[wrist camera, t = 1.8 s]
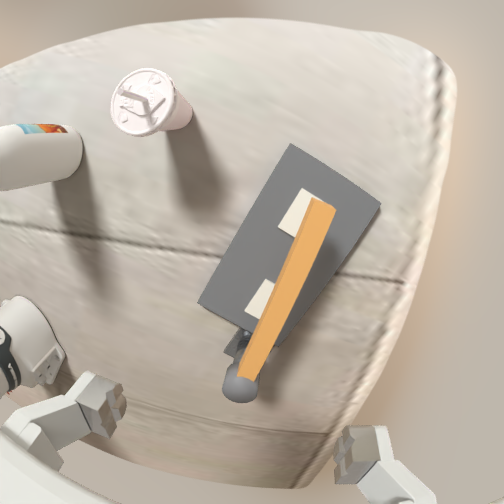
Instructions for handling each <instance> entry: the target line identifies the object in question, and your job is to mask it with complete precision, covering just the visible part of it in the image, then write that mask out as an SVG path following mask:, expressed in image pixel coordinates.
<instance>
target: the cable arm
mask: <svg viewBox="0 0 504 504" xmlns="http://www.w3.org/2000/svg"><path fill="white" fill-rule="evenodd" d="M335 212H336V209H335V208H334V207H333V206H332V205H330V204H327V203H325V202H323V201H320V200H318V199H315V198H313V197H312V198H311V200H310V203H309V205H308V207H307V210H306V212H305V215H304V217H303V220H302V222H301V225H300V227H299V229H298V232H297V234H296V237H295V239H294V241H293V244H292V246H291V248H290V251H289V253H288V256H287V258H286V260H285V263H284V265H283V267H282V270H281V272H280V274H279V276H278V279H277V281H276V283H275V286H274V288H273V290H272V292H271V295H270V297H269V299H268V302H267V304H266V306H265V308H264V311H263V313H262V315H261V317H260V319H259V322H258V324H257V326H256V328H255V330H254V333H253V335H252V337H251V339H250V341H249V344H248V346H247V348H246V350H245V352H244V354H243V357H242V359H241V361H240V362H235V363H233V364H231V365H230V366H229V367H228V369H227V372H226V376H225V380H224V383H223V387H222V392H223V394H224V396H225V397H226V398H228V399H229V400H231V401H233V402H237V403H248V402H251V401H253V400H254V399H255V398H256V396H257V392H258V384H259V376H260V373H259V371H260V369H261V367H262V366H263V364H264V362H265V360H266V358H267V356H268V354H269V352H270V350H271V348H272V347H273V345H274V343H275V341H276V339H277V337H278V335H279V333H280V331H281V329H282V327H283V325H284V323H285V321H286V319H287V317H288V315H289V313H290V311H291V309H292V307H293V305H294V303H295V301H296V298H297V296H298V294H299V292H300V290H301V288H302V286H303V284H304V282H305V280H306V277H307V275H308V273H309V271H310V269H311V267H312V264H313V262H314V260H315V258H316V256H317V253H318V251H319V249H320V247H321V245H322V242H323V240H324V238H325V235H326V233H327V231H328V229H329V226H330V224H331V222H332V219H333V217H334V215H335Z"/></svg>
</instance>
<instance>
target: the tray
mask: <svg viewBox="0 0 504 504" xmlns="http://www.w3.org/2000/svg"><path fill="white" fill-rule="evenodd" d="M312 197H313V198H315V199H318V200H320V201H323V202H325V203H327V204H330V205H332V206H333V207H334V208H335V209H336V212H335V215H334V217H333V219H332V222H331V224H330V226H329V229H328V231H327V233H326V235H325V238H324V240H323V242H322V245H321V247H320V249H319V251H318V253H317V256H316V258H315V260H314V262H313V264H312V267H311V269H310V271H309V273H308V275H307V277H306V280H305V282H304V284H303V286H302V288H301V290H300V292H299V294H298V296H297V298H296V301H295V303H294V305H293V307H292V309H291V311H290V313H289V315H288V317H287V319H286V321H285V323H284V325H283V327H282V329H281V331H280V333H279V335H278V337H277V339H276V341H275V343H274V345H276V346H278V347H279V345H280V344H281V343H282V342H283V341H284V339H285V338H286V337H287V336H288V334H289V333H290V332H291V331H292V329H293V328H294V327H295V325H296V324H297V323H298V322H299V320H300V319H301V318H302V316H303V315H304V314H305V313H306V311H307V310H308V309H309V307H310V306H311V305H312V303H313V302H314V301H315V299H316V298H317V297H318V295H319V294H320V293H321V291H322V290H323V289H324V287H325V286H326V284H327V283H328V282H329V280H330V279H331V278H332V276H333V275H334V273H335V272H336V271H337V269H338V268H339V266H340V265H341V264H342V262H343V261H344V259H345V258H346V256H347V255H348V253H349V252H350V251H351V249H352V248H353V246H354V245H355V243H356V242H357V240H358V239H359V237H360V236H361V234H362V233H363V231H364V230H365V228H366V227H367V225H368V224H369V222H370V221H371V219H372V218H373V216H374V214H375V213H376V211H377V210H378V208H379V207H380V205H381V203H380V202H379V201H378V200H376V199H375V198H374V197H372V196H371V195H369V194H368V193H367V192H365V191H364V190H362V189H361V188H360V187H358V186H357V185H355V184H354V183H352V182H351V181H349V180H348V179H347V178H345V177H344V176H342V175H341V174H339V173H338V172H336V171H335V170H333V169H331V168H330V167H328V166H327V165H325V164H324V163H322V162H321V161H319V160H317V159H316V158H314V157H313V156H311V155H309V154H308V153H306V152H304V151H303V150H301V149H300V148H298V147H296V146H294V145H293V144H291V143H290V144H289V146H288V148H287V149H286V151H285V153H284V154H283V156H282V158H281V159H280V161H279V163H278V164H277V166H276V168H275V169H274V171H273V173H272V174H271V176H270V178H269V179H268V181H267V183H266V184H265V186H264V188H263V189H262V191H261V193H260V194H259V196H258V198H257V199H256V201H255V203H254V205H253V206H252V208H251V210H250V211H249V213H248V215H247V216H246V218H245V220H244V222H243V223H242V225H241V227H240V228H239V230H238V232H237V234H236V235H235V237H234V239H233V241H232V242H231V244H230V246H229V247H228V249H227V251H226V253H225V254H224V256H223V258H222V260H221V261H220V263H219V265H218V267H217V268H216V270H215V272H214V274H213V275H212V277H211V279H210V281H209V283H208V284H207V286H206V288H205V290H204V291H203V293H202V295H201V297H200V299H199V300H198V302H197V303H198V304H200V305H202V306H203V307H205V308H207V309H209V310H210V311H212V312H214V313H216V314H218V315H219V316H221V317H223V318H225V319H227V320H228V321H230V322H232V323H234V324H236V325H238V326H240V327H241V328H243V329H245V330H247V331H249V332H251V333H254V330H255V328H256V326H257V324H258V322H259V319H260V317H261V315H262V313H263V311H264V308H265V306H266V304H267V302H268V299H269V297H270V295H271V292H272V290H273V288H274V286H275V283H276V281H277V279H278V276H279V274H280V272H281V270H282V267H283V265H284V263H285V260H286V258H287V256H288V253H289V251H290V248H291V246H292V244H293V241H294V239H295V237H296V234H297V232H298V229H299V227H300V225H301V222H302V220H303V217H304V215H305V212H306V210H307V207H308V205H309V203H310V200H311V198H312Z"/></svg>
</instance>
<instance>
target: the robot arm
mask: <svg viewBox="0 0 504 504" xmlns="http://www.w3.org/2000/svg"><path fill="white" fill-rule="evenodd" d="M64 358H65V353H64V351H63V350H62V348H61V347H60V345H59V344H58V342H57V341H56V339H55V336H54V334H53V331H52V329H51V327H50V325H49V324H48V322H47V320H46V319H45V317H44V316H43V314H42V313H41V312H40V311H39V309H38V308H37V307H36V306H35V305H34V304H33V303H32V302H30V301H29V300H28V299H26V298H24V297H21V296H15V297H14V298H12V299H11V300H4V301H3V302H2V307H1V308H0V399H1V398H2V396H3V395H4V394H5V393H6V392H7V393H8V394H9V392H12V391H11V390H14V389H16V388H17V387H18V386H19V385H24V386H27V387H30V388H34V387H35V386H36V385H37V384H38V383H39V384H40V385H41V386H43V385H44V383H47V384H50V385H51V384H52V383H53V382H54V380H55V378H56V376H57V373H58V371H59V369H60V367H61V364H62V362H63V360H64ZM122 392H123V387H122V384H120V383H117V382H114V381H112V380H109V379H107V378H104V377H102V376H100V375H97V374H95V373H92V372H90V371H86V372H84V373H83V374H82V375H81V377H80V378H79V379H78V380H77V381H76V382H75V384H74V385H73V386H72V387H71V388H70V390H69V391H68V392H67V393H66V394H65V396H64V395H59V396H56V397H53V398H50V399H47V400H44V401H41V402H38V403H35V404H32V405H29V406H26V407H23V408H20V409H17V410H16V411H15V412H14V413H13V414H12V415H11V416H10V418H9V419H8V420H7V421H6V422H5V423H4V425H3V426H2V427H1V428H0V504H120V503H118V502H115V501H113V500H111V499H109V498H107V497H104V496H102V495H100V494H98V493H96V492H94V491H92V490H90V489H88V488H86V487H84V486H82V485H80V484H79V483H77V482H75V481H73V480H71V479H69V478H68V477H66V476H64V475H63V474H61V473H59V472H58V471H59V469H60V468H61V466H62V465H63V463H64V462H63V459H62V458H61V457H60V455H59V454H58V452H57V451H58V450H60V449H61V448H63V447H65V446H67V445H69V444H71V443H73V442H75V441H77V440H78V439H80V438H82V437H84V436H86V435H88V434H89V433H91V431H92V432H94V433H97V434H99V435H101V436H104V437H106V438H109V439H110V438H111V436H112V434H113V433H114V431H115V429H116V428H117V425H116V421H118V420H121V419H122V418H123V416H124V414H125V411H126V407H127V402H126V398H125V397H124V396H123V394H122ZM342 434H343V436H341V437H339V438H338V440H337V441H336V444H335V447H334V461H335V462H336V463H337V464H338V465H337V467H336V468H335V470H334V474H335V484H357V487H358V488H359V489H360V491H361V492H362V493H363V495H364V496H365V497H366V499H367V500H368V502H369V503H370V504H437V501H436V496H435V494H434V493H433V492H432V491H431V490H430V489H429V488H428V487H427V486H425V485H424V484H423V483H422V482H421V481H420V480H419V479H418V478H417V477H416V476H415V475H414V474H413V473H412V472H410V471H409V470H408V469H407V468H406V467H405V466H404V465H403V464H402V463H401V462H400V461H399V460H395V459H394V455H393V450H392V446H391V442H390V437H389V433H388V429H387V427H386V426H384V425H381V426H371V425H366V426H346V427H344V429H343V431H342ZM489 504H504V497H502V498H500V499H498V500H496V501H494V502H492V503H489Z"/></svg>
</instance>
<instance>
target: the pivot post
mask: <svg viewBox="0 0 504 504" xmlns="http://www.w3.org/2000/svg"><path fill="white" fill-rule="evenodd" d="M252 335H253V333H251V332H249V331H247V330H245V329H243V328H241V327H240V328H239V330H238V331H237V332H236V334H235V335H234V337H233V338H232V340H231V341H230V342H229V344H228V345H227V347H226V348H225V350H224V353H226V354H228V355H230V356H231V357H233V358H234V361H233V363H235V362H240V361H241V359H242V357H243V354H244V352H245V350H246V348H247V346H248V344H249V341H250V339H251V337H252Z"/></svg>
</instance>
